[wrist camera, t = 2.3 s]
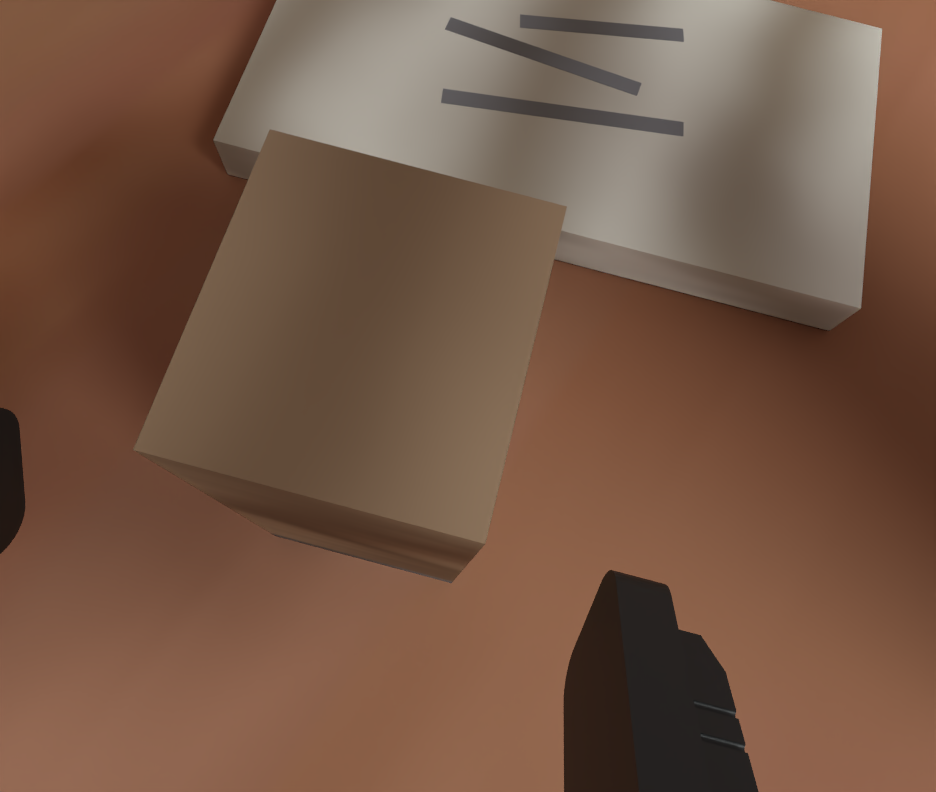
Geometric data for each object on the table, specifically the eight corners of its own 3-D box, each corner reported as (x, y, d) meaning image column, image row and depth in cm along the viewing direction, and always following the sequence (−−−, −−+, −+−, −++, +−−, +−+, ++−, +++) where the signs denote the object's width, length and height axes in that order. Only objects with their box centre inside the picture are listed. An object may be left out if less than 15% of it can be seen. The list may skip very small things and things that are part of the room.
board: (853, 65, 23) (882, 28, 22) (829, 330, 20) (861, 308, 18) (333, -68, 23) (327, -113, 22) (227, 174, 20) (212, 139, 19)
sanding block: (498, 397, 19) (567, 206, 10) (451, 583, 17) (485, 544, 8) (337, 354, 19) (270, 129, 10) (275, 535, 17) (133, 449, 9)
